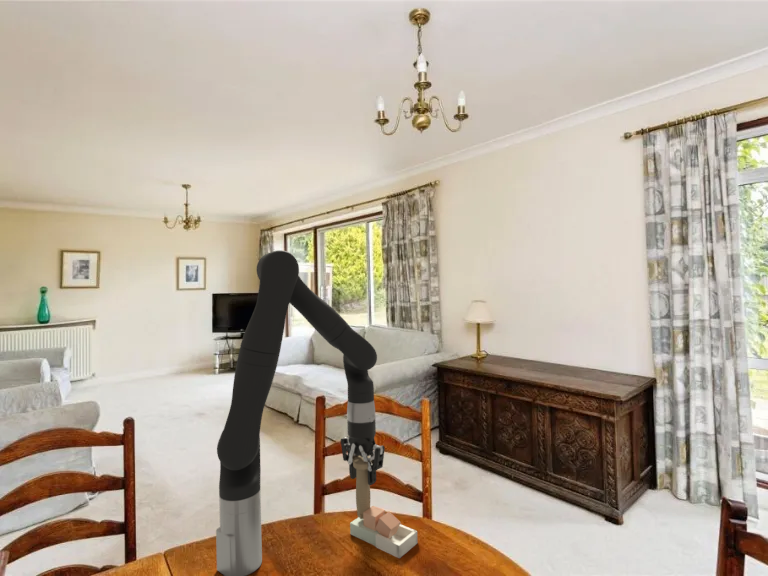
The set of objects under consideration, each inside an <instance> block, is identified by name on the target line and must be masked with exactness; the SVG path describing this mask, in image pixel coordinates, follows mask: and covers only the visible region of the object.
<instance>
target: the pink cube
mask: <svg viewBox="0 0 768 576" xmlns="http://www.w3.org/2000/svg"><path fill="white" fill-rule="evenodd" d="M385 514H386V511H385V509H382V508H379V507H377V506H374V505H372V506H370V508H369V509H368V510H366V511H364V512H363V523H364V526H365V527H367V528H370V529H372V530H375V531H376V526H377V523H378V521H379V518H380V517H382V516H383V515H385Z"/></svg>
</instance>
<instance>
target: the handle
mask: <svg viewBox="0 0 768 576" xmlns="http://www.w3.org/2000/svg"><path fill="white" fill-rule="evenodd" d="M367 457H368V458H369V457H370V455H369V456H367ZM370 462H371V461H370ZM371 465H372V462H371ZM353 466H354V468H356V472H357V474H356V478H355V481H356V482H355V486H356V487H355V503H356V510H357V511H356V515H357V518H358V517H359V518H360V519H363V512H364V511H366V510H368V509H369V508H370V507H371V485H368V467H367V464H366V463H365V462H364V460H363V457H361V456H359V457H355V458H354V459H353Z"/></svg>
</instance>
